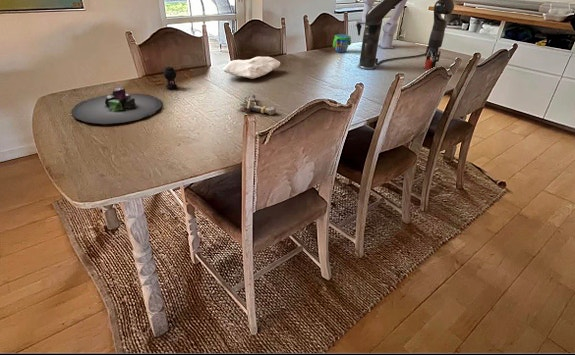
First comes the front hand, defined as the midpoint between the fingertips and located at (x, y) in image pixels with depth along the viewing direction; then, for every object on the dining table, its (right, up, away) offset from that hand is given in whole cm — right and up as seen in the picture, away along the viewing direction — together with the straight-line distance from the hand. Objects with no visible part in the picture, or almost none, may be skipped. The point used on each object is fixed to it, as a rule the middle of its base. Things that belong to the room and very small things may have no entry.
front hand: (429, 66), depth 221 cm
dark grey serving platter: (-157, -39, -69) cm, 176 cm away
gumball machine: (-143, -25, -45) cm, 152 cm away
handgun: (-99, -37, -62) cm, 123 cm away
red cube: (0, -1, +1) cm, 1 cm away
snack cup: (-50, +18, +28) cm, 60 cm away
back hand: (-32, +33, +36) cm, 59 cm away
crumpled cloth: (-107, -12, -23) cm, 110 cm away
